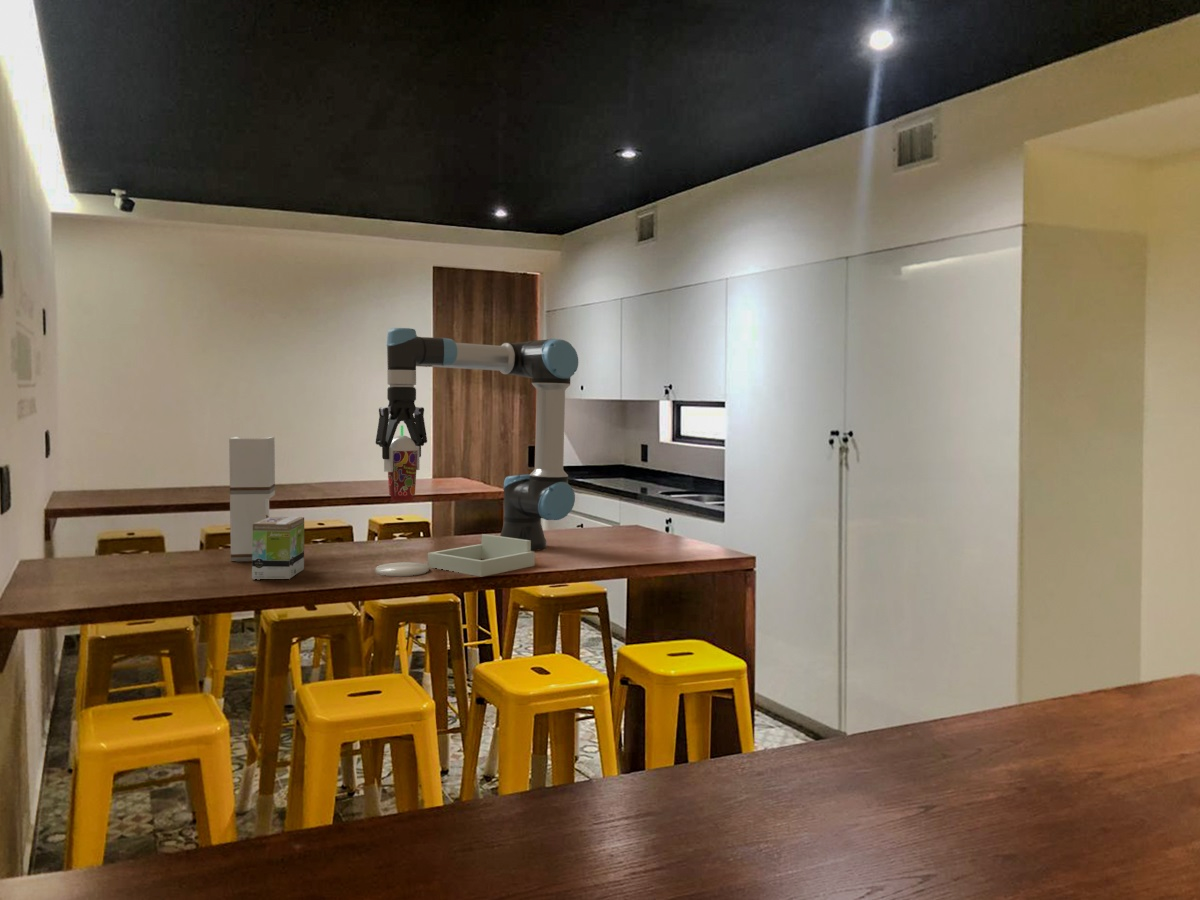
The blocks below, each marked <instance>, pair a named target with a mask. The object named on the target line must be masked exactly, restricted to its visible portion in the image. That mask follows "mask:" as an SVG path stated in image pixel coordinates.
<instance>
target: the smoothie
mask: <svg viewBox="0 0 1200 900" xmlns="http://www.w3.org/2000/svg"><path fill="white" fill-rule="evenodd" d="M390 447H393V472H387V479H388V483H387V484H388V494H389V496H390V499H391V500H392V501H400V502H403V501H412V500H413V499H414V496H415V495H416V482H417V480H416V479H417V470H416V469H417V450H418V448H417V447H416V445H415V443H414V441H413V440H412V439H411V437H409V436H407V435H404V425H403V424H401V425H400V435H397V436H394V437H393V440H392V443H391V445H390Z"/></svg>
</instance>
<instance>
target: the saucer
mask: <svg viewBox="0 0 1200 900" xmlns="http://www.w3.org/2000/svg"><path fill="white" fill-rule="evenodd" d="M429 571H430V570H429V566H428V564H426V563H423V562H410V561H409V562H407V561H405V562H403V561H402V562H390V563H383V564H380V565H378V566H375V574H377V575H379V576H384V575H386V576H387V577H411V576H413V575H414V576H419V575H424V574H427V573H428V572H429ZM426 572H427V573H426ZM386 576H385V577H386Z"/></svg>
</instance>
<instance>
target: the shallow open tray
mask: <svg viewBox="0 0 1200 900" xmlns="http://www.w3.org/2000/svg"><path fill="white" fill-rule="evenodd" d="M535 554H536V553H535V551H531V540H523V539H516V538H509V537H502V536H500V535H493V534H485V533H484V534H481V543H478V544H471V545H468V546H462V547H460V546H459V547H456V548H449V549H442V550H438V551H431V552H427V565H428V566H429V567H431V568H430V569H435V568H437V569H436V570H441V569H443V570H442V571H446V570H449V571H448V572H452V571H454V572H453V573H458V572H459V574H464V575H470V576H476V577H482V578H483V577H487V576H492V575H496V574H500V573H501V574H502V573H505V572H511V571H516V570H520V569H526V568H530V567H535V562H536V561H535V558H536V557H535ZM481 559H482V560H481Z"/></svg>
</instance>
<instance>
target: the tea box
mask: <svg viewBox="0 0 1200 900" xmlns="http://www.w3.org/2000/svg"><path fill="white" fill-rule="evenodd" d="M304 569H305V517H301V516H299V517H298V516H269V517H268V518H265V519H263V520H261V521H258V522H256V523H253V542H252V561H251V579H252V580H255V579H257V580H258V581H260V579H289V580H290V579H291V578H293V577H294V576H295V575H297V574H299V573H300V572H302V571H303V570H304ZM257 580H256V581H257Z"/></svg>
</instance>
